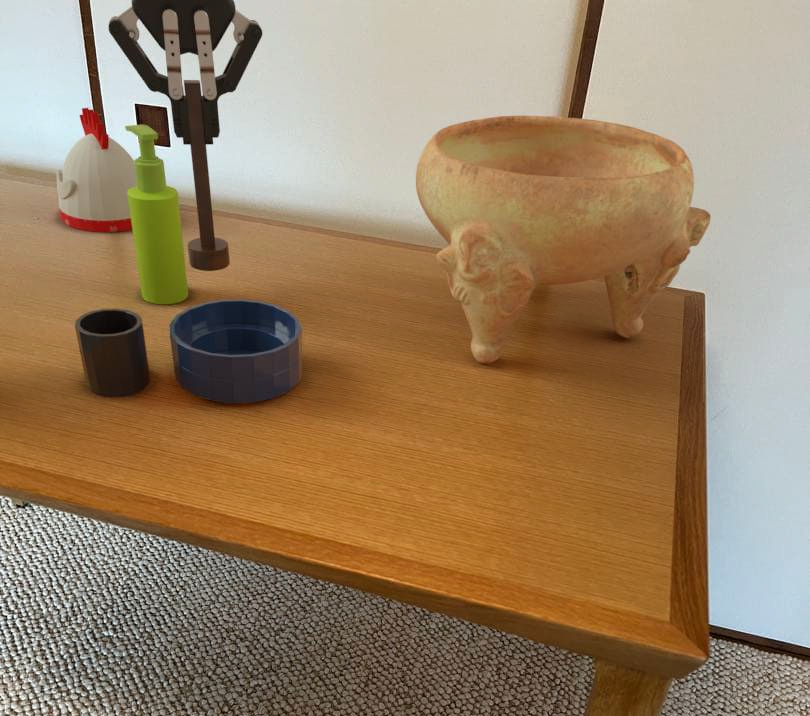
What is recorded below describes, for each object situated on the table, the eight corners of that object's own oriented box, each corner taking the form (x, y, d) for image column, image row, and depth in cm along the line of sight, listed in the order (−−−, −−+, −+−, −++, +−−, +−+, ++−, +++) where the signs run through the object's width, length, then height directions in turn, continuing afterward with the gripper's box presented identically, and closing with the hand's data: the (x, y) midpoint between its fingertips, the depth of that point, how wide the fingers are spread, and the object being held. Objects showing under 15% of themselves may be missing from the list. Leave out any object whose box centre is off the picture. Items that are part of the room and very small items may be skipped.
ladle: (190, 271, 81) (169, 86, 70) (189, 256, 84) (168, 76, 73) (231, 270, 82) (216, 86, 71) (228, 255, 85) (213, 77, 74)
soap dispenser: (173, 280, 111) (155, 119, 98) (195, 299, 106) (179, 133, 94) (131, 288, 108) (107, 123, 95) (153, 308, 104) (130, 138, 91)
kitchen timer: (132, 197, 135) (118, 96, 125) (169, 223, 127) (157, 117, 117) (47, 209, 128) (26, 103, 118) (81, 237, 120) (61, 126, 110)
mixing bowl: (177, 411, 85) (170, 359, 81) (174, 349, 95) (168, 301, 92) (310, 404, 88) (309, 353, 84) (293, 344, 99) (292, 297, 95)
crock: (85, 398, 86) (72, 337, 81) (88, 368, 91) (77, 309, 86) (150, 395, 87) (141, 334, 83) (150, 365, 92) (141, 307, 88)
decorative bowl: (589, 266, 126) (625, 101, 111) (709, 376, 100) (777, 180, 85) (374, 273, 117) (383, 96, 103) (445, 395, 92) (470, 182, 77)
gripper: (256, -91, 69) (267, 132, 80) (86, -101, 66) (122, 131, 77) (265, -85, 63) (276, 153, 74) (80, -96, 60) (120, 154, 71)
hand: (197, 141), depth 76 cm, fingers closed on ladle, 1 cm apart
